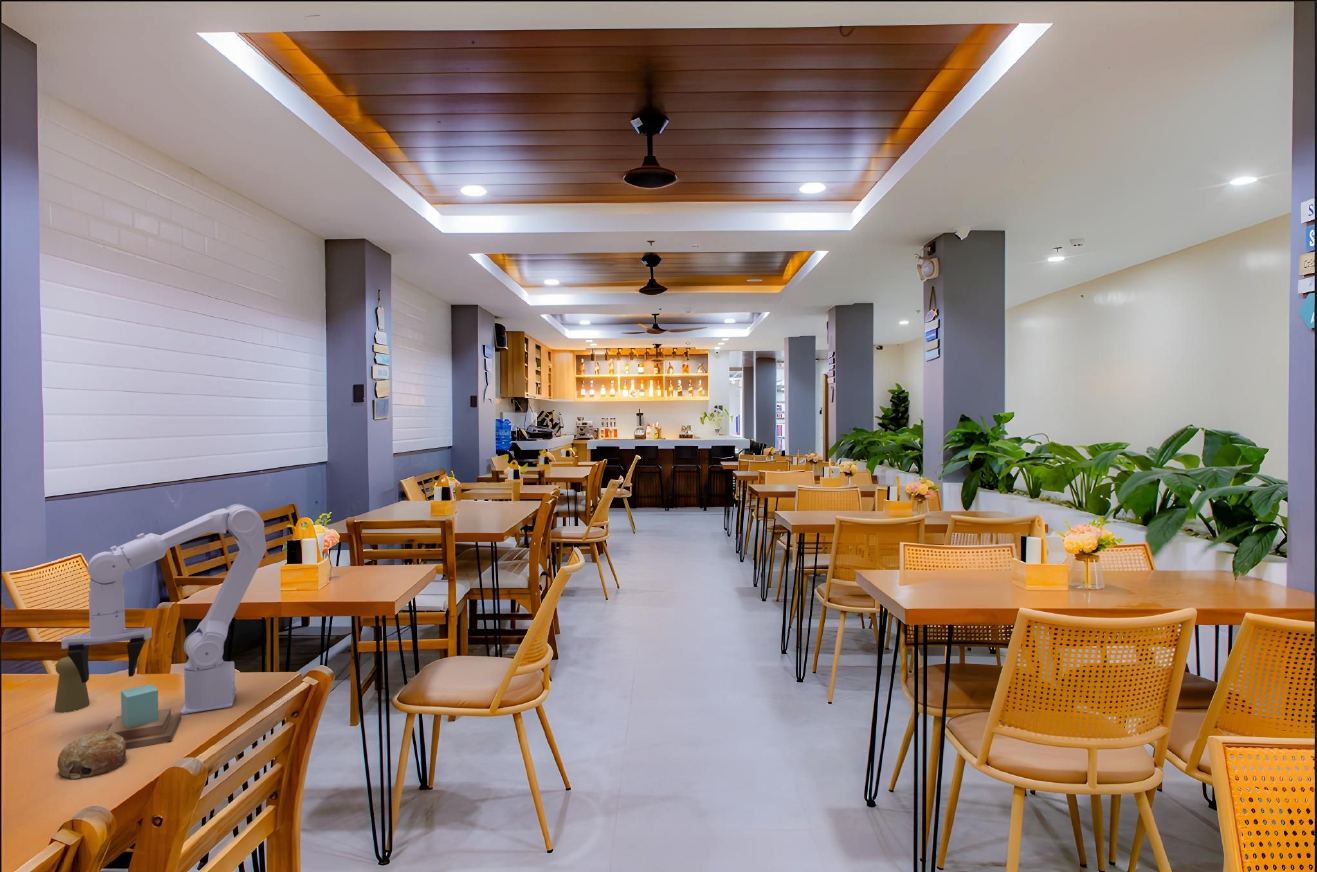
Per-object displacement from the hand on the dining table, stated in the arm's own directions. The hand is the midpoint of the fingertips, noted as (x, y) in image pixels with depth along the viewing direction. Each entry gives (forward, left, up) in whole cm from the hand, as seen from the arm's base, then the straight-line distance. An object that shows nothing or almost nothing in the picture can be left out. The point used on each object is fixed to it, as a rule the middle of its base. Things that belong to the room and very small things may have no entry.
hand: (108, 678), depth 147 cm
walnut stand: (-7, +8, -10) cm, 14 cm away
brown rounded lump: (-2, +19, -10) cm, 22 cm away
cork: (+10, -16, -10) cm, 21 cm away
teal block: (-7, +8, -7) cm, 13 cm away
